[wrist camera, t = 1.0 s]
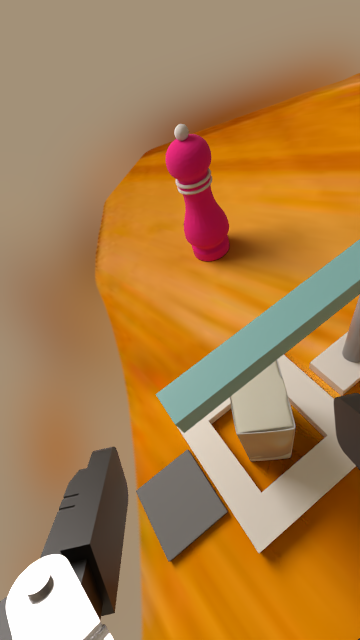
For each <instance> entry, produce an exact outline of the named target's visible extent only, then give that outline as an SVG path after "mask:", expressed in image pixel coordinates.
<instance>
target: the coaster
mask: <svg viewBox="0 0 360 640" xmlns="http://www.w3.org/2000/svg"><path fill="white" fill-rule="evenodd" d="M136 492H137V494H138V496H139V499H140V501H141V503H142V505H143V507H144V509H145V512H146V514H147V516H148V518H149V520H150V522H151V525H152V527H153V529H154V531H155V533H156V535H157V537H158V540H159V542H160V544H161V546H162V548H163V550H164V553H165V555H166V557H167V559H168V561H171V560H173V559H174V558H175V557H176V556H177V555H178V554H180V553H181V552H182V551H183V550H184V549H185V548H187V547H188V546H189V545H190V544H191V543H192V542H194V541H195V540H196V539H197V538H198V537H199V536H201V535H202V534H203V533H204V532H205V531H206V530H208V529H209V528H210V527H211V526H212V525H213V524H214V523H216V522H217V521H218V520H219V519H220V518H221V517H223V516H224V515H225V514H226V513H227V512H228V511H227V509H226V508H225V506H224V505H223V503H222V502H221V500H220V498H219V497H218V495H217V494H216V492H215V491H214V489H213V487H212V486H211V484H210V483H209V481H208V480H207V478H206V476H205V475H204V473H203V472H202V470H201V469H200V467H199V465H198V464H197V462H196V461H195V459H194V458H193V456H192V454H191V453H190V451H189V450H186V451H185V452H184V453H183V454H181V455H180V456H179V457H178V458H176V459H175V460H174V461H173V462H171V463H170V464H169V465H168V466H166V467H165V468H164V469H163V470H161V471H160V472H159V473H158V474H156V475H155V476H154V477H153V478H152V479H150V480H149V481H148V482H147V483H145V484H144V485H143V486H142V487H140V488H139V489H138V490H137V491H136Z"/></svg>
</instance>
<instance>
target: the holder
mask: <svg viewBox="0 0 360 640" xmlns="http://www.w3.org/2000/svg"><path fill="white" fill-rule="evenodd" d="M278 363H279V366H280V370H281V373H282V377H283V380H284V384H285V387H286V391H287V395H288V399H289V402H290V404H291V405H292V406H293V407H294V408H295V409H296V410H297V411H298V412H299V413H300V414H301V415H302V416H303V417H304V418H305V419H306V420H307V421H308V422H309V423H310V424H311V425H312V426H313V427H314V428H315V429H316V430H317V431H318V432H319V433H320V434H321V435H322V436H323V437H324V439H323V440H322V441H321V442H319V443H318V444H317V445H316V446H315V447H314V448H312V449H311V450H310V451H309V452H308V453H307V454H306V455H304V456H303V457H302V458H301V459H300V460H299V461H297V462H296V463H295V464H294V465H293V466H292V467H291V468H289V469H288V470H287V471H286V472H285V473H284V474H282V475H281V476H280V477H279V478H278V479H277V480H276V481H274V482H273V483H272V484H271V485H270V486H269V487H267V488H266V489H265V490H264V491H263V492H262V493H261V491H260V490H259V489H258V487H257V486H256V485H255V483H254V482H253V481H252V479H251V478H250V476H249V475H248V474H247V472H246V471H245V470H244V468H243V467H242V466H241V464H240V463H239V462H238V460H237V459H236V457H235V456H234V455H233V453H232V452H231V451H230V449H229V448H228V447H227V445H226V444H225V443H224V441H223V440H222V439H221V437H220V436H219V434H218V433H217V432H216V430H215V429H214V428H213V426H212V425H211V424H213V423H214V422H215V421H216V420H218V419H219V418H220V417H221V416H223V415H224V414H225V413H226V412H227V411H229V410H230V409H231V403H230V397H229V398H228V399H227V400H226V401H224V402H223V403H222V404H221V405H219V406H218V407H217V408H216V409H214V410H213V411H212V412H210V413H209V414H208V415H207V416H205V417H204V418H203V419H202V420H200V421H199V422H198V423H197V424H195V425H194V426H193V427H192V428H190V429H189V430H188V431H187V432H185V433H183V432H182V431H181V430H180V429H179V428H178V429H179V430H180V432H181V433H182V435H183V437H184V438H185V440H186V441H187V443H188V444H189V446H190V447H191V449H192V450H193V452H194V454H195V455H196V457H197V458H198V460H199V461H200V463H201V464H202V466H203V468H204V469H205V471H206V472H207V474H208V475H209V477H210V478H211V480H212V481H213V483H214V485H215V486H216V488H217V489H218V491H219V492H220V494H221V495H222V497H223V498H224V500H225V502H226V503H227V505H228V506H229V508H230V509H231V511H232V512H233V514H234V515H235V517H236V519H237V520H238V522H239V523H240V525H241V526H242V528H243V529H244V531H245V532H246V534H247V536H248V537H249V539H250V540H251V542H252V543H253V545H254V546H255V548H256V550H257V551H258V553H260V552H261V551H262V550H264V549H265V548H266V547H267V546H268V545H269V544H270V543H271V542H272V541H274V540H275V539H276V538H277V537H278V536H279V535H280V534H281V533H282V532H283V531H285V530H286V529H287V528H288V527H289V526H290V525H291V524H292V523H293V522H295V521H296V520H297V519H298V518H299V517H300V516H301V515H302V514H303V513H305V512H306V511H307V510H308V509H309V508H310V507H311V506H312V505H313V504H315V503H316V502H317V501H318V500H319V499H320V498H321V497H322V496H323V495H325V494H326V493H327V492H328V491H329V490H330V489H331V488H332V487H333V486H335V485H336V484H337V483H338V482H339V481H340V480H341V479H342V478H343V477H345V476H346V475H347V474H348V473H349V472H350V471H351V470H352V469H353V468H355V467H356V465H355V464H354V463H353V462H352V461H351V460H350V459H349V458H348V457H347V455H346V454H345V453H344V452H343V450H342V449H341V447H340V445H339V443H338V440H337V437H336V428H335V416H334V399H333V398H332V397H331V396H330V395H329V394H328V393H326V392H325V391H324V390H323V389H322V388H321V387H320V386H319V385H317V384H316V383H315V382H314V381H313V380H312V379H311V378H310V377H308V376H307V375H306V374H305V373H304V372H303V371H302V370H300V369H299V368H298V367H297V366H296V365H295V364H294V363H293V362H291V361H290V360H289V359H288V358H287V357H286V356H285V355H282V356H281V357H280V358H278ZM309 368H310V369H311V370H312V371H313V372H314V373H315V374H317V375H318V376H319V377H320V378H321V379H322V380H324V381H325V382H326V383H327V384H328V385H329V386H331V387H332V388H333V389H334V390H335V391H336V392H338V393H339V394H340V395H341V396H342V395H344V394H345V393H346V392H347V391H348V390H349V389H351V388H352V387H353V386H354V385H355V384H356V383H358V382H359V381H360V296H359V300H358V303H357V306H356V309H355V312H354V315H353V319H352V322H351V325H350V328H349V331H348V332H347V333H346V334H345V335H343V336H342V337H341V338H340V339H338V340H337V341H336V342H335V343H333V344H332V345H331V346H330V347H329V348H327V349H326V350H325V351H324V352H322V353H321V354H320V355H319V356H317V357H316V358H315V359H314V360H313V361H311V362H310V367H309Z"/></svg>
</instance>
